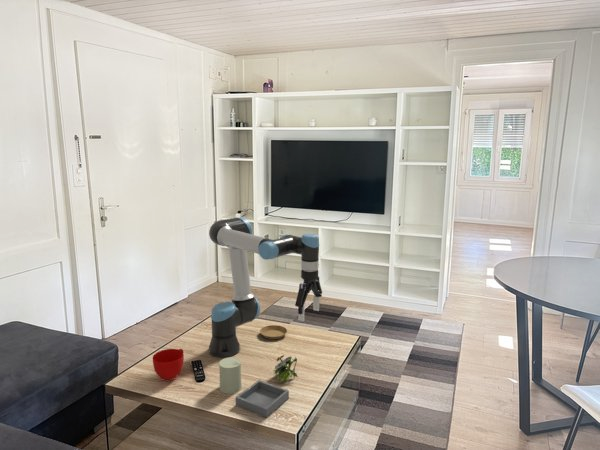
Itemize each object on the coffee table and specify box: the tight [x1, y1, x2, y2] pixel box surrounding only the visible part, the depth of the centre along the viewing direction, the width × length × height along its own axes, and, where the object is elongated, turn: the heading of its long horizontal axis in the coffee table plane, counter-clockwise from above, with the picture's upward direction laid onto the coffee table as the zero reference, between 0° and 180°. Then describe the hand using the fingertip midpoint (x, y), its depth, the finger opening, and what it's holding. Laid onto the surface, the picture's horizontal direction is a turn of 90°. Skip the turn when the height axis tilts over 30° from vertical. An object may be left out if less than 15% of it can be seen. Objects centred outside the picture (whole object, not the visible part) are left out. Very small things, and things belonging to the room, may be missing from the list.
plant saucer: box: [259, 324, 288, 340], centre depth 233 cm, size 15×15×3 cm
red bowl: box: [152, 348, 185, 381], centre depth 191 cm, size 13×17×10 cm
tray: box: [235, 379, 290, 419], centre depth 172 cm, size 15×15×4 cm
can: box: [218, 356, 243, 395], centre depth 181 cm, size 9×9×12 cm
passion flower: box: [273, 354, 298, 383], centre depth 190 cm, size 11×11×12 cm
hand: (308, 315), depth 193 cm, fingers open, 13 cm apart
